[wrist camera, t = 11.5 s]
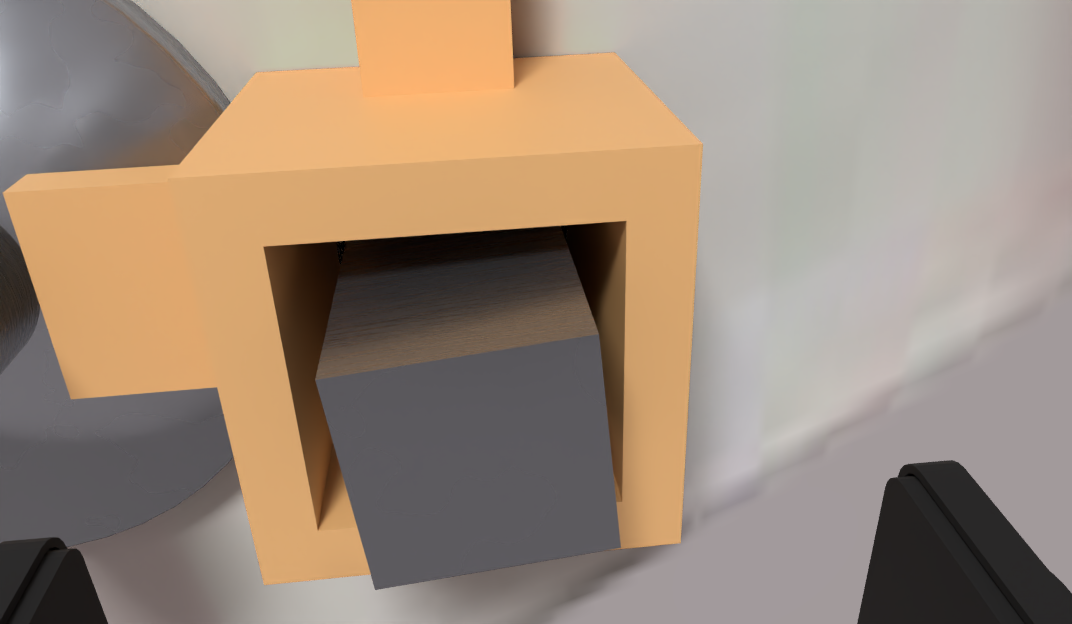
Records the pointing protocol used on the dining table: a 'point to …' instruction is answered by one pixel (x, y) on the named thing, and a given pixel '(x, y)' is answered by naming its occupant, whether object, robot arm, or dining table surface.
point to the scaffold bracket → (369, 213)
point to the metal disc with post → (9, 296)
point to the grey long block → (468, 404)
